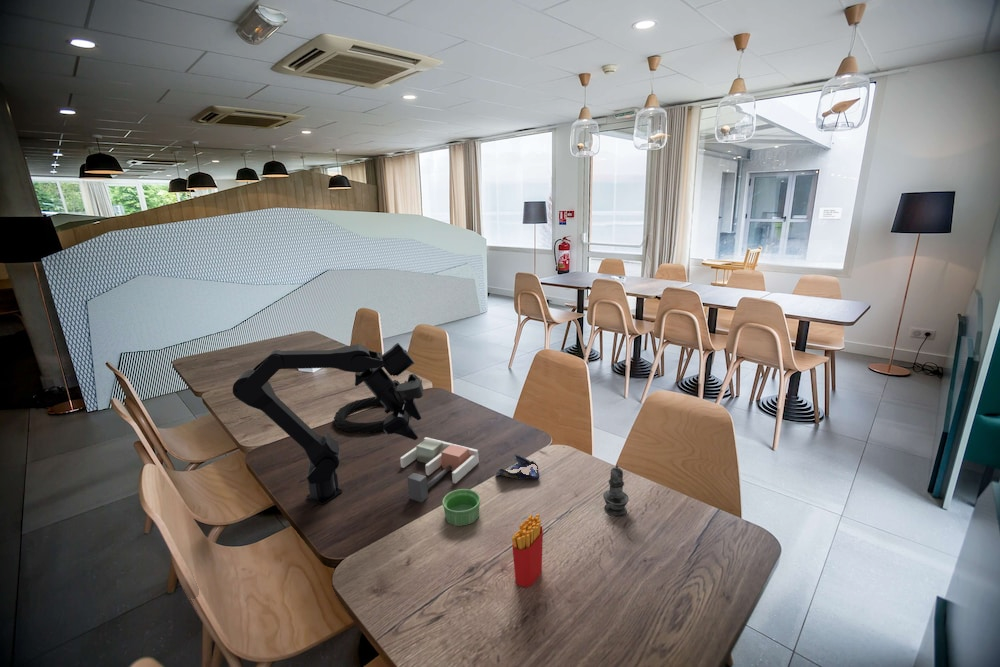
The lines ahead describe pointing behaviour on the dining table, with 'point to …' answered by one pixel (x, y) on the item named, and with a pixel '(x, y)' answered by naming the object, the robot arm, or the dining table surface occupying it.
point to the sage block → (428, 450)
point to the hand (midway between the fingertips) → (418, 428)
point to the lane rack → (437, 461)
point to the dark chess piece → (616, 494)
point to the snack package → (519, 475)
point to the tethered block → (450, 461)
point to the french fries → (528, 551)
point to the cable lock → (355, 426)
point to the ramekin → (461, 506)
